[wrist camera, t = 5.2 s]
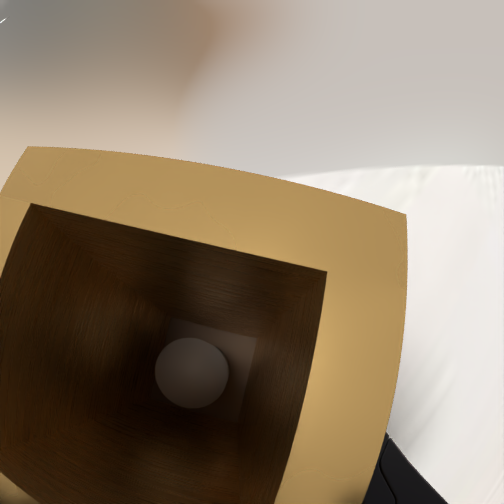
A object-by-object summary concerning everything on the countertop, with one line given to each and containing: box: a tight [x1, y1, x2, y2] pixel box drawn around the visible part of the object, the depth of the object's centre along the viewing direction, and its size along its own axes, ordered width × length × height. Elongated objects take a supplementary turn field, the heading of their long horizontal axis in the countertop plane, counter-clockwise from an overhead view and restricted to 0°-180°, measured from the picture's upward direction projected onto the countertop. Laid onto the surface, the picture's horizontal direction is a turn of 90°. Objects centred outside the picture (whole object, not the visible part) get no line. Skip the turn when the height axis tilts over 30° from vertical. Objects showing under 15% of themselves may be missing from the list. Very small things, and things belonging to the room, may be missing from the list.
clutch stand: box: [151, 317, 257, 422], centre depth 9 cm, size 26×12×6 cm, turn 105°
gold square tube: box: [0, 146, 407, 504], centre depth 7 cm, size 6×6×10 cm
